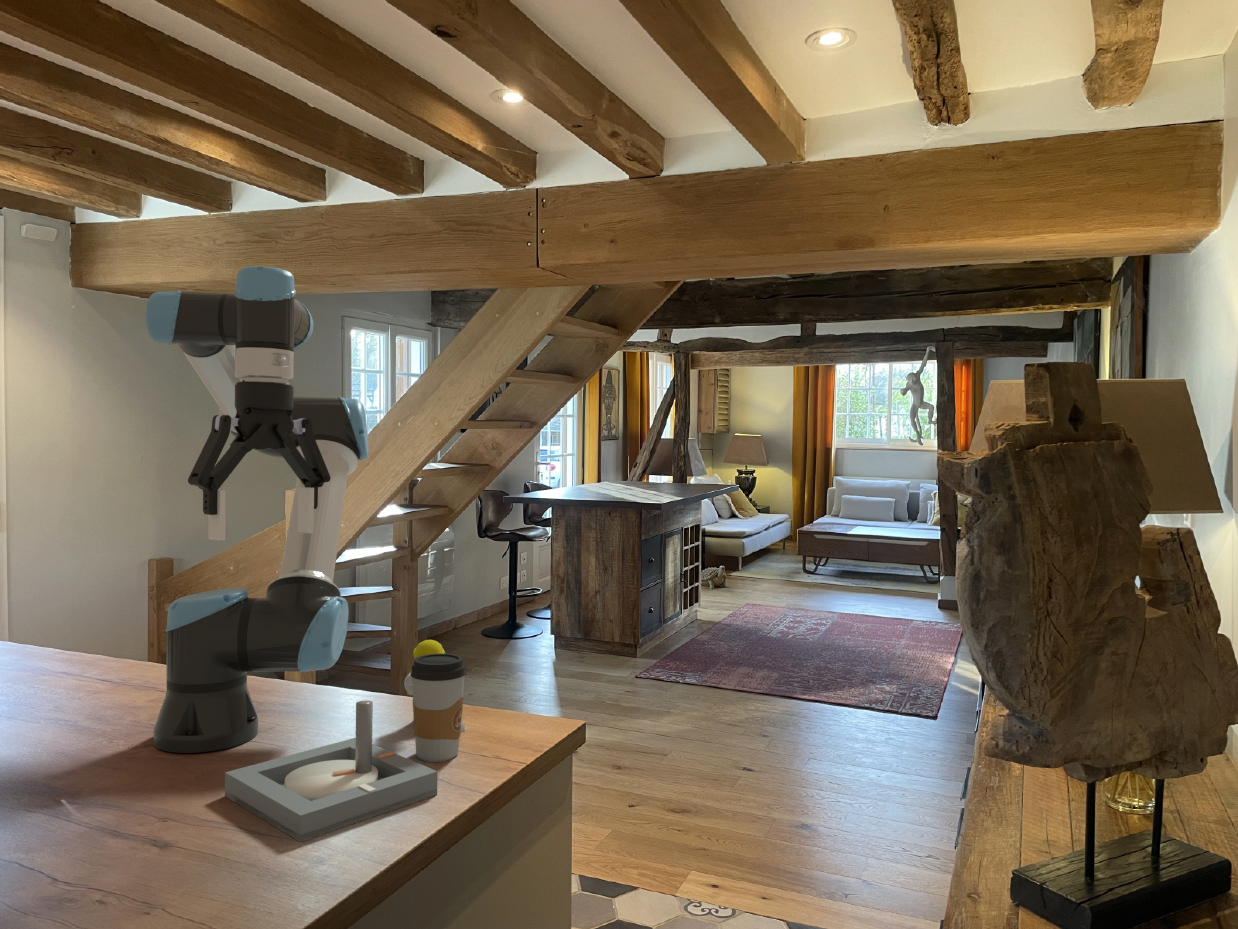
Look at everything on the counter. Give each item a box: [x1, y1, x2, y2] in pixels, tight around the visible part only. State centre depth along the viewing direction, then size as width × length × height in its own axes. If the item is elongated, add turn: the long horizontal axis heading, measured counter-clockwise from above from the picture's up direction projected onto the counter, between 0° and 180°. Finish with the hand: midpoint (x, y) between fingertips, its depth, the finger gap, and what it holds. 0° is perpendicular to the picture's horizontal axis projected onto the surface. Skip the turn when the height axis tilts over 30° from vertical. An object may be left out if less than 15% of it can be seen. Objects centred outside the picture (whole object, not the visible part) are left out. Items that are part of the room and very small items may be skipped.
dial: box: [285, 699, 378, 801], centre depth 119 cm, size 12×12×11 cm
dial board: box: [224, 737, 438, 843], centre depth 119 cm, size 20×20×3 cm
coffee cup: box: [410, 653, 467, 763], centre depth 135 cm, size 8×8×15 cm
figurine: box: [403, 639, 467, 733], centre depth 147 cm, size 10×9×15 cm
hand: (263, 536), depth 122 cm, fingers open, 13 cm apart
